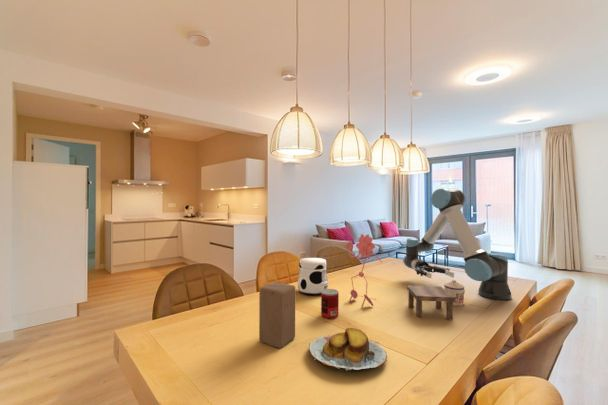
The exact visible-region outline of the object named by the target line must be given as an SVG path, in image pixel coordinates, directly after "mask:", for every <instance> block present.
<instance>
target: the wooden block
mask: <svg viewBox="0 0 608 405" xmlns="http://www.w3.org/2000/svg"><path fill="white" fill-rule="evenodd" d="M258 301H259V304H258V305H259V312H258V313H259V316H258V320H259V325H258V326H259V327H258V331H259V332H258V333H259V334H258V335H259V337H258V338H259V339H258V340H259V342H260V343H262V344H266V345H268V346H272V347H275V348H277V349H282V348H283V347H285V345H287V344H288V343H290V342H291V341H293V340H294V339H295V337H296V286H295V285H293V284H288V283H282V282H279V281H278V282H276V281H275V282H271V283H270V284H267V285H264V286H261V287H260V288H259V300H258Z"/></svg>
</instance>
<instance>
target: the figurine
mask: <svg viewBox="0 0 608 405" xmlns="http://www.w3.org/2000/svg"><path fill="white" fill-rule="evenodd" d="M355 247H356V249H358V254H357V255H356V256H355V255H351V250H353V248H354V244H353V242H351V241H348V242H346V248H347V250H348V251H349V254H348V255H349V258H356V259H357V260H359V261H361V262H362V264H363V265H362V269H361V271H359V272H358V274H356V275H355V276H352V277H350V279H351V285H352V290H350V298H349V300H348V302H349V303H350V302H351V300H352V299H354V300H356V299H357V297H359V295H358V294H359V293H358V292H357V290H355V288H354V283H353V278H355V277H361V278H364V280H365V282H366V283H368V281H367V279H366V276H365V273H364V272H363V271H364V267H365V264H366V260H367V259H370V258H371V255H374V257H375V258H377V260H379V261H380V263H383V261H382V260H381V259H380V258H379V257H378V256H377V254H375V252H374V250H373V249H375V248H376V245H375V243H373V238H372V237H370V234H366V235H364V234H363V233H361V234H360V237H359V238H358V242H357V243H356V244H355ZM360 257H361V258H360ZM363 258H364V259H363ZM365 287H366V290H365V294H363V296H361V295H360V297H362V298H363V302H362V304H361V308H363V307H364V304H365V301H367V302H368V303H369V304H370V305H371V306H372V307H374V303H373V301H377V299H376V298H371V297H369V296H368V285H366V286H365ZM371 299H372V300H373V301H372V300H371Z"/></svg>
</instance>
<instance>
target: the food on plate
mask: <svg viewBox="0 0 608 405" xmlns="http://www.w3.org/2000/svg"><path fill="white" fill-rule="evenodd" d="M308 351H309V352H310V354H311V356H312V357H314V359H313V361H316V360H317V361H319V362H321V363H322V365H324V366H330V367H334V368H337V370H340V369H341V368H342V369H344V370H345V371H348V370H349V371H351V370H355V371H356V370H357V371H359V370H362V369H363V370H365V369H370V368H371V369H373V368H375V369H376V368H377V367H381V366H383V365H385V364H386V363H387V362H388V359H387V358H388V355H387V351H386V350H385V348H383V347H382V346H381V345H380V344H378V343H376V342H374V341H373V340H369V338H368V335H367V334H366V333H365V332H364V331H362V330H361V329H358V328H354V327H346V328H345V330H344V331H343V332H338V333H335V334H331V335H326V336H325V335H324V336H320V337H317V338H316V339H314V340H312V341H311V342H310V343H309V346H308Z"/></svg>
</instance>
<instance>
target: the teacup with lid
mask: <svg viewBox="0 0 608 405" xmlns="http://www.w3.org/2000/svg"><path fill="white" fill-rule="evenodd" d="M444 289H445V290H446V291H447V292H448V293H450V294H451V295H452V296H454V297H455V302H453V307H454V306H455V307H461V306H463V305H464V303H465V298H464V297H465V286H464V285H463V284H460V283H459V282H457V280H456V279H451V281H449V282H445V283H444ZM444 303H446V302H444Z"/></svg>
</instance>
